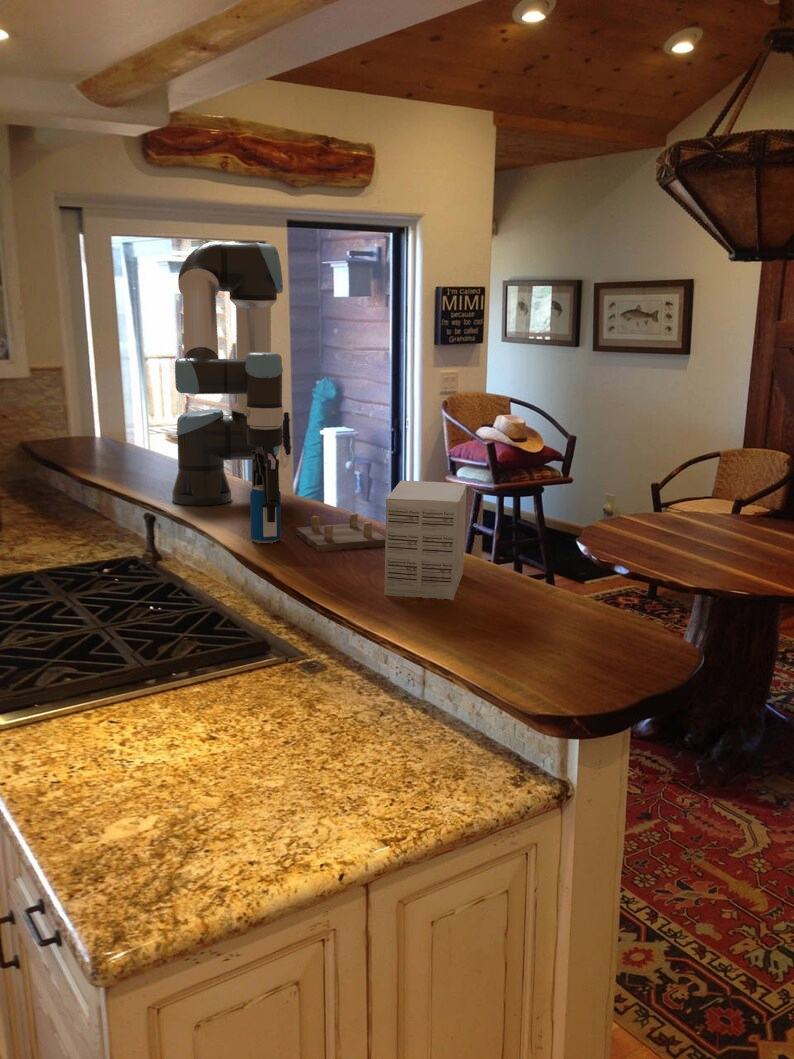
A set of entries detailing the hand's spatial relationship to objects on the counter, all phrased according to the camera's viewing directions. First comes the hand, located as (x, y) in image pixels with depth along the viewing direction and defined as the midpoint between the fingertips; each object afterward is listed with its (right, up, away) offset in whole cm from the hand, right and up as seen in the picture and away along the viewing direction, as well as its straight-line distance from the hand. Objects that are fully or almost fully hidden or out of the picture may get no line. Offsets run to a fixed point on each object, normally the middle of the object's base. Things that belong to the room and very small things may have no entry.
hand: (265, 532), depth 198 cm
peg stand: (+16, -2, +3) cm, 17 cm away
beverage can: (0, -2, +1) cm, 2 cm away
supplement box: (+34, -10, -28) cm, 45 cm away
